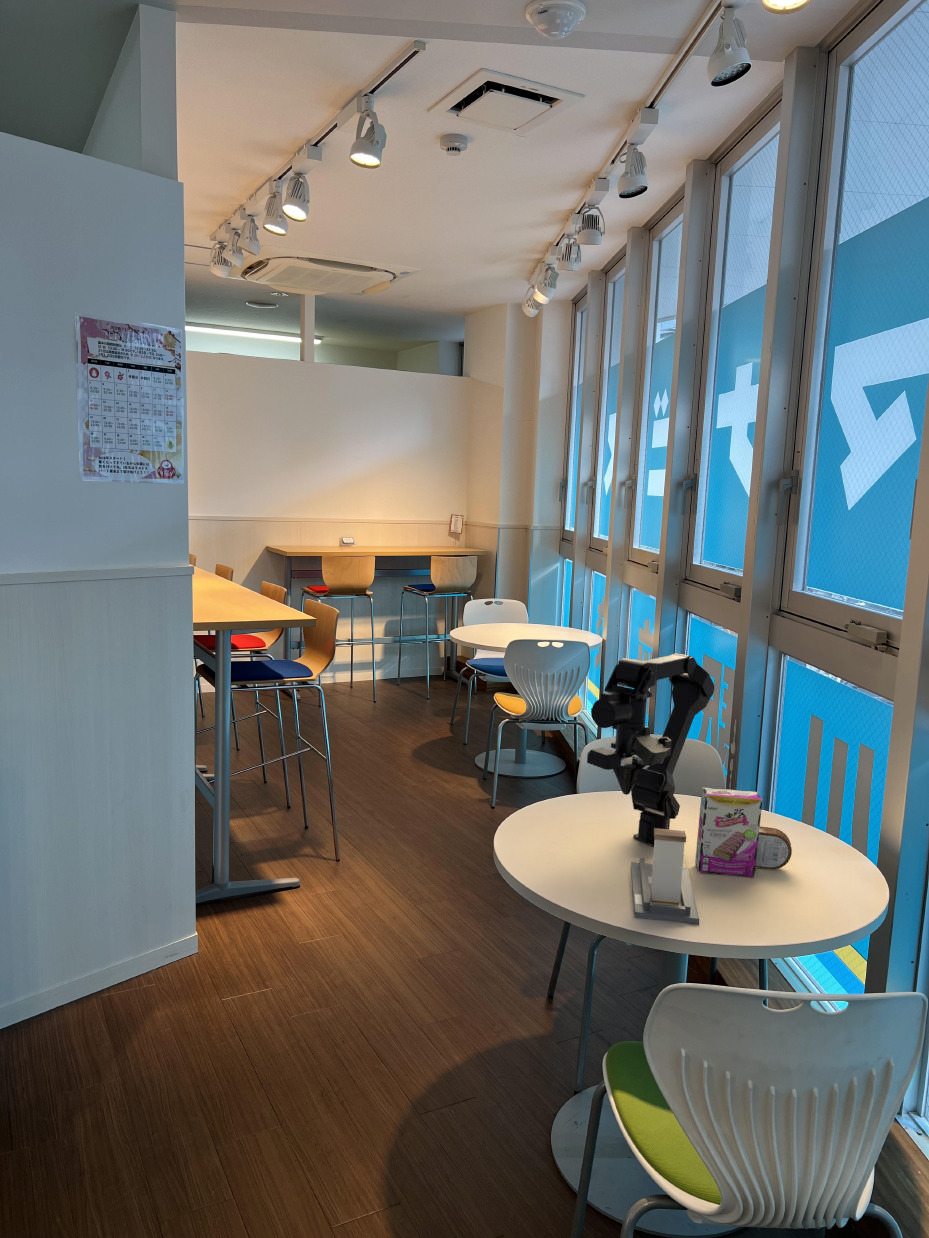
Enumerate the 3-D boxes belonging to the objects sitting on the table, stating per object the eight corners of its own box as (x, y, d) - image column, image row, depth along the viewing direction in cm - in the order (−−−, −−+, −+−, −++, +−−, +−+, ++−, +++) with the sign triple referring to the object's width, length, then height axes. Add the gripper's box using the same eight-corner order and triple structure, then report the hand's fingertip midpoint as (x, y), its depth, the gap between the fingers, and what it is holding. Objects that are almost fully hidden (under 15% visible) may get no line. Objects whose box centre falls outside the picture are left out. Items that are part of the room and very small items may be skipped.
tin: (788, 866, 175) (792, 828, 173) (791, 873, 172) (795, 834, 170) (712, 857, 178) (715, 819, 176) (713, 864, 175) (716, 826, 173)
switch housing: (630, 866, 172) (631, 854, 172) (686, 872, 170) (687, 860, 170) (635, 917, 150) (635, 903, 150) (699, 924, 149) (700, 910, 148)
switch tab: (649, 893, 157) (654, 828, 155) (679, 896, 156) (684, 830, 154) (650, 900, 154) (655, 834, 152) (681, 903, 153) (686, 837, 151)
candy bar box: (698, 874, 170) (704, 794, 168) (694, 863, 175) (700, 786, 173) (756, 878, 169) (763, 798, 167) (750, 868, 174) (757, 790, 172)
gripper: (628, 735, 163) (623, 814, 165) (692, 724, 174) (686, 798, 176) (587, 722, 172) (582, 797, 174) (650, 712, 182) (645, 782, 184)
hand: (626, 794), depth 177 cm, fingers closed
